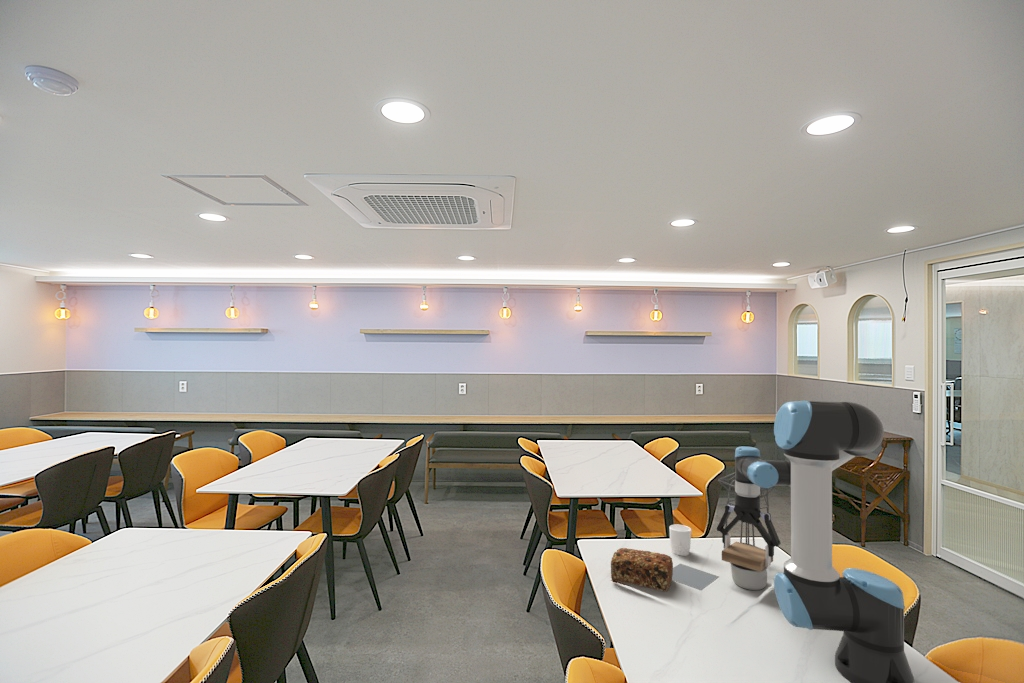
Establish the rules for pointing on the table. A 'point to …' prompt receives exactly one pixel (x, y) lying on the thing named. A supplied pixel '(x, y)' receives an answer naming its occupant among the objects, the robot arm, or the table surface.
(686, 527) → the white cup
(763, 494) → the geometric lantern
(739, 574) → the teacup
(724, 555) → the wooden block
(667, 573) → the bread
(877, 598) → the robot arm
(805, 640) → the table surface
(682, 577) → the mat
